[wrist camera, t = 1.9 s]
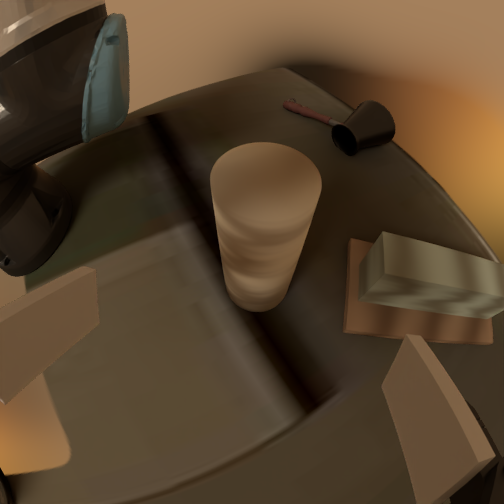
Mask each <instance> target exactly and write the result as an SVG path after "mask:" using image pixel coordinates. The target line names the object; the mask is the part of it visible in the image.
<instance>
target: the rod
mask: <svg viewBox="0 0 504 504" xmlns="http://www.w3.org/2000/svg"><path fill="white" fill-rule="evenodd" d="M210 184H211V191H212V199H213V206H214V213H215V220H216V226H217V233H218V240H219V246H220V253H221V259H222V265H223V272H224V278H225V284H226V289H227V292H228V295H229V297H230V298H231V300H232V301H233V302H234V303H235V304H236V305H238V306H239V307H241V308H242V309H245V310H247V311H252V312H263V311H267V310H270V309H272V308H274V307H276V306H277V305H278V304H279V303H280V302H281V301H282V300H283V299H284V297H285V295H286V293H287V290H288V287H289V284H290V282H291V279H292V276H293V273H294V271H295V268H296V265H297V262H298V259H299V256H300V253H301V251H302V248H303V245H304V242H305V239H306V236H307V233H308V230H309V227H310V224H311V221H312V218H313V215H314V212H315V209H316V205H317V202H318V199H319V196H320V193H321V188H322V180H321V176H320V173H319V171H318V169H317V168H316V166H315V165H314V164H313V162H312V161H311V160H310V159H309V158H308V157H306V156H305V155H304V154H302V153H301V152H299V151H297V150H295V149H293V148H290V147H288V146H285V145H281V144H276V143H269V142H256V143H249V144H244V145H241V146H238V147H235V148H233V149H231V150H229V151H228V152H226V153H225V154H223V155H222V156H221V157H220V158H219V159H218V160H217V161H216V163H215V164H214V166H213V168H212V171H211V175H210Z"/></svg>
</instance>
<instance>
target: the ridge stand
mask: <svg viewBox="0 0 504 504" xmlns="http://www.w3.org/2000/svg"><path fill="white" fill-rule="evenodd" d="M503 310H504V265H503V264H500V263H497V262H493V261H490V260H487V259H484V258H480V257H477V256H474V255H470V254H467V253H463V252H460V251H456V250H453V249H449V248H446V247H442V246H438V245H435V244H431V243H427V242H423V241H420V240H416V239H412V238H408V237H404V236H400V235H396V234H392V233H388V232H382V233H381V234H380V236H379V237H378V239H377V240H376V242H375V243H371V242H366V241H362V240H357V239H353V238H350V240H349V242H348V257H347V280H346V297H345V310H344V321H343V332H345V333H352V334H359V335H367V336H375V337H384V338H393V339H403V340H404V338H405V336H406V334H410V335H420V336H421V337H422V338H423V339H424V341H425V342H438V343H454V344H477V345H489V344H491V343H493V330H492V316H494V315H496V314H498V313H499V312H501V311H503Z"/></svg>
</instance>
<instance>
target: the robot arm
mask: <svg viewBox="0 0 504 504" xmlns="http://www.w3.org/2000/svg"><path fill="white" fill-rule="evenodd" d="M128 109H129V50H128V35H127V28H126V19H125V17H124V15H122V14H115V13H113V14H110V15H109V16H108V15H107V12H106V7H105V1H104V0H0V268H1V269H2V270H3V271H4V272H6V273H7V274H8V275H11V276H15V277H18V276H24V275H26V274H29V273H31V272H32V271H34V270H36V269H37V268H38V267H40V266H41V265H42V264H43V263H44V262H45V261H46V260H47V259H48V258H49V257H50V256H51V255H52V253H53V252H54V251H55V249H56V248H57V247H58V245H59V244H60V242H61V240H62V238H63V237H64V235H65V233H66V230H67V228H68V225H69V223H70V219H71V214H72V201H71V198H70V196H69V194H68V192H67V191H66V189H65V188H64V186H63V185H62V184H61V183H60V182H59V181H58V180H56V179H55V178H54V177H52V176H51V175H49V174H48V173H47V172H45V171H44V170H43V169H41V168H40V167H38V166H37V165H36V164H35V163H37V162H39V161H41V160H44V159H46V158H48V157H50V156H52V155H54V154H57V153H59V152H61V151H63V150H66V149H68V148H70V147H73V146H75V145H78V144H80V143H83V142H84V143H88V142H89V141H90V140H91V139H92V138H94V137H97V136H99V135H101V134H104V133H106V132H109V131H111V130H114V129H116V128H117V127H119V126H120V125H121V124H122V123H123V122H124V120H125V118H126V116H127V114H128ZM99 324H100V321H99V311H98V299H97V282H96V269H93V268H89V267H86V266H82V267H80V268H78V269H76V270H74V271H72V272H69V273H67V274H65V275H63V276H61V277H59V278H57V279H55V280H53V281H51V282H49V283H47V284H45V285H43V286H41V287H39V288H37V289H35V290H33V291H31V292H30V293H28V294H26V295H24V296H22V297H20V298H18V299H17V300H14V301H13V302H11V303H9V304H7V305H5V306H4V307H2V308H0V401H1V402H3V403H4V404H5V405H6V404H7V403H8V402H9V401H10V400H11V399H12V398H13V397H15V396H16V395H17V394H18V393H19V392H20V391H21V390H22V389H24V388H25V387H26V386H27V385H28V384H29V383H30V382H31V381H33V380H34V379H35V378H36V377H37V376H38V375H39V374H40V373H42V372H43V371H44V370H45V369H46V368H47V367H49V366H50V365H51V364H52V363H53V362H54V361H56V360H57V359H58V358H59V357H60V356H61V355H63V354H64V353H65V352H66V351H67V350H69V349H70V348H71V347H72V346H73V345H75V344H76V343H77V342H78V341H79V340H81V339H82V338H83V337H84V336H85V335H87V334H88V333H89V332H90V331H92V330H93V329H94V328H95V327H96V326H98V325H99ZM381 387H382V390H383V392H384V395H385V398H386V401H387V404H388V407H389V409H390V412H391V415H392V418H393V421H394V424H395V427H396V431H397V434H398V437H399V440H400V443H401V447H402V450H403V453H404V457H405V460H406V464H407V467H408V471H409V475H410V478H411V482H412V486H413V490H414V494H415V498H416V503H417V504H442V503H443V502H444V501H446V500H447V499H448V498H450V501H451V503H450V504H504V457H503V458H502V456H501V455H500V453H499V451H498V449H497V447H496V445H495V443H494V442H493V440H492V438H491V436H490V434H489V432H488V431H487V429H486V428H484V427H485V425H484V424H483V422H482V420H480V417H479V415H478V414H477V412H476V410H475V409H474V408H473V407H472V406H471V405H470V404H469V403H468V402H467V401H466V400H464V398H463V397H462V395H461V394H460V392H459V391H458V389H457V387H456V386H455V384H454V383H453V381H452V380H451V378H450V377H449V375H448V374H447V372H446V371H445V369H444V368H443V366H442V365H441V363H440V362H439V360H438V359H437V358H436V356H435V355H434V353H433V352H432V350H431V349H430V348H429V346H428V345H427V344H426V342H425V341H424V339H423V338H422V337H421V336H420V335H410V334H406V336H405V338H404V340H403V342H402V345H401V347H400V349H399V351H398V353H397V355H396V358H395V360H394V362H393V364H392V366H391V368H390V370H389V372H388V374H387V376H386V378H385V379H384V381H383V383H382V385H381Z"/></svg>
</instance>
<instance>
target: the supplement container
mask: <svg viewBox="0 0 504 504" xmlns="http://www.w3.org/2000/svg"><path fill="white" fill-rule="evenodd" d="M0 504H13V500H12V494H11V490H10V487H9V484H8V482H7V480H6V477H5V475H4V473H3V472H2V470H1V468H0Z"/></svg>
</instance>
